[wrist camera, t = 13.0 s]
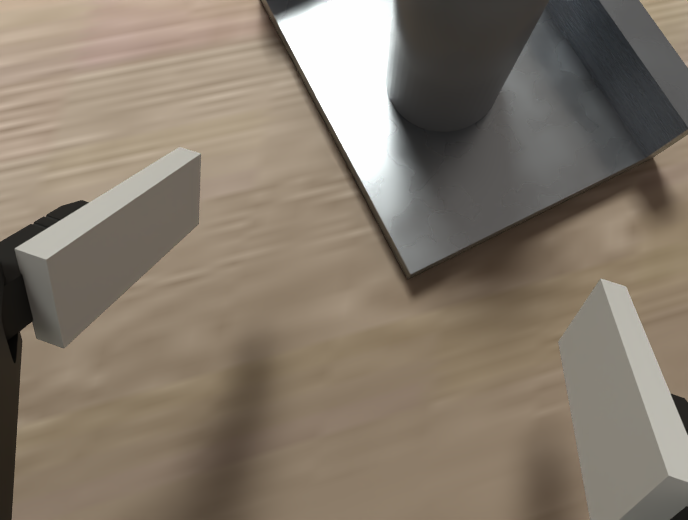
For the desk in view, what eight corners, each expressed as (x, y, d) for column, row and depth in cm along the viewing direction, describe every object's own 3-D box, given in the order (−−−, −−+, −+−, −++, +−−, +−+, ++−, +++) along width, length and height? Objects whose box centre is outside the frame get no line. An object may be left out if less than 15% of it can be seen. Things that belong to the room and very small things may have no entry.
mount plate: (258, -6, 26) (237, -77, 22) (477, -104, 27) (500, -192, 23) (407, 279, 23) (418, 262, 19) (653, 157, 24) (719, 113, 19)
